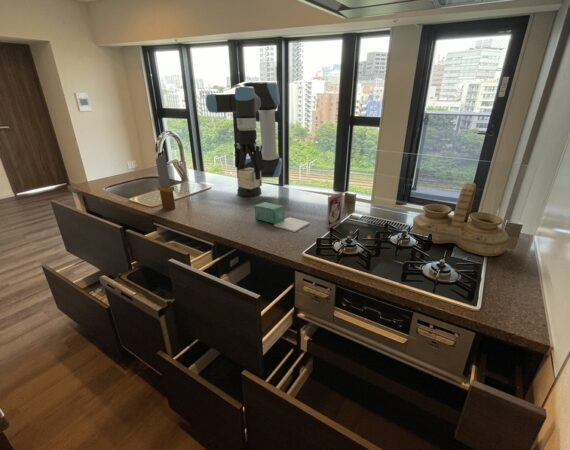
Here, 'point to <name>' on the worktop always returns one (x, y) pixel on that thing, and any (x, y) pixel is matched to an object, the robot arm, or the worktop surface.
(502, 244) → the ceramic vessel
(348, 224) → the worktop surface
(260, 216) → the box
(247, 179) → the letter cube
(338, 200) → the greeting card
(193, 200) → the worktop surface
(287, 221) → the tile
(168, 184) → the knife
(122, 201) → the worktop surface
